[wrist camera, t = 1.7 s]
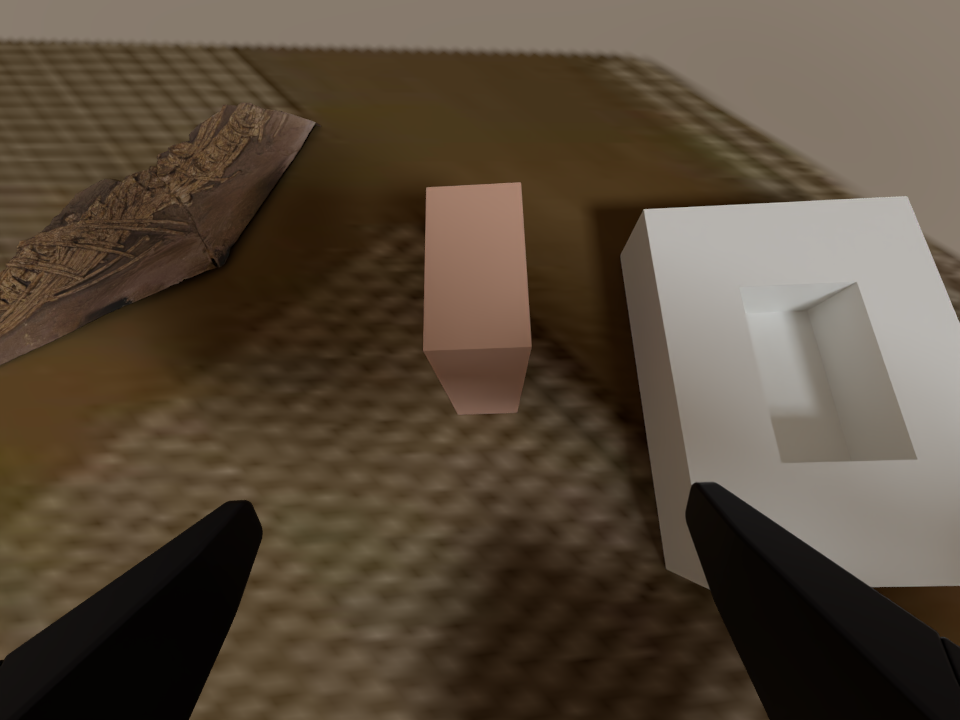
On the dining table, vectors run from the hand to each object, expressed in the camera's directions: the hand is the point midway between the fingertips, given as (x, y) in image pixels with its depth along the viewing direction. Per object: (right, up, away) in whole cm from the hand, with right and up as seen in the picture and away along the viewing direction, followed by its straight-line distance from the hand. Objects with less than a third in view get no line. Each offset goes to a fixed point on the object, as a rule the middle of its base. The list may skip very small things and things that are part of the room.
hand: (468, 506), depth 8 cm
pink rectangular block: (+1, +3, +13) cm, 14 cm away
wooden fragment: (-20, +10, +17) cm, 29 cm away
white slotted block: (+14, +1, +12) cm, 19 cm away
